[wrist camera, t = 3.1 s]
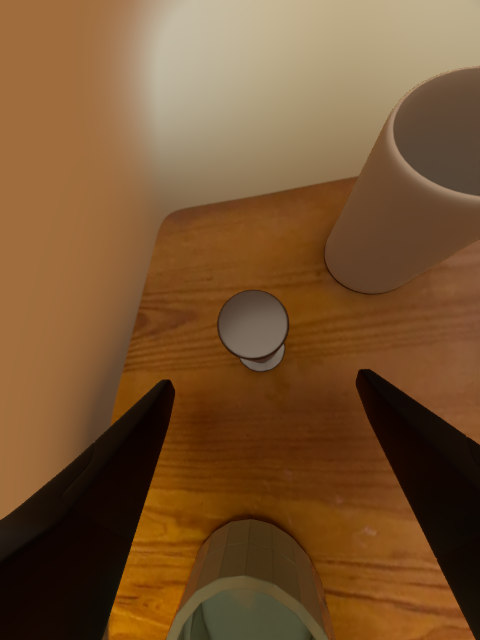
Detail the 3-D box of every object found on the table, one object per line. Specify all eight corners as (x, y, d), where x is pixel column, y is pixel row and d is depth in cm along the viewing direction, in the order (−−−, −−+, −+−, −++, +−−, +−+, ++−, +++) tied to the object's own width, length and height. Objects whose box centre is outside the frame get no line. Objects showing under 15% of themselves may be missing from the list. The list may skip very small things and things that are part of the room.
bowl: (344, 682, 13) (388, 863, 8) (201, 692, 14) (167, 861, 9) (303, 505, 16) (319, 567, 11) (183, 522, 17) (150, 586, 12)
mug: (375, 312, 18) (525, 241, 8) (305, 258, 21) (348, 143, 10) (457, 227, 19) (695, 57, 9) (382, 183, 21) (497, 3, 11)
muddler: (286, 366, 18) (325, 368, 6) (245, 374, 19) (206, 392, 7) (276, 325, 19) (293, 260, 7) (237, 334, 20) (191, 285, 8)
